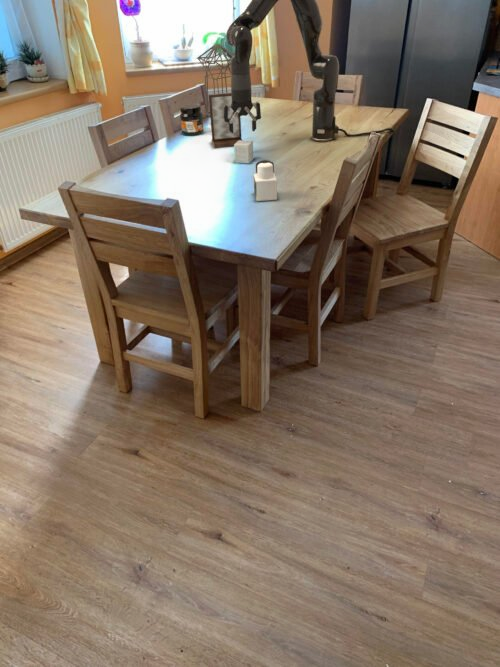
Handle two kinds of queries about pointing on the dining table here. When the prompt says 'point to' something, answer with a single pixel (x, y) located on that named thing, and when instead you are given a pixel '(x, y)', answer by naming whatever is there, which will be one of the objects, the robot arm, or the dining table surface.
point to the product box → (243, 151)
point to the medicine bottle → (265, 181)
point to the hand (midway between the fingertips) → (242, 131)
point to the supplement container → (191, 119)
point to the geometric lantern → (214, 48)
